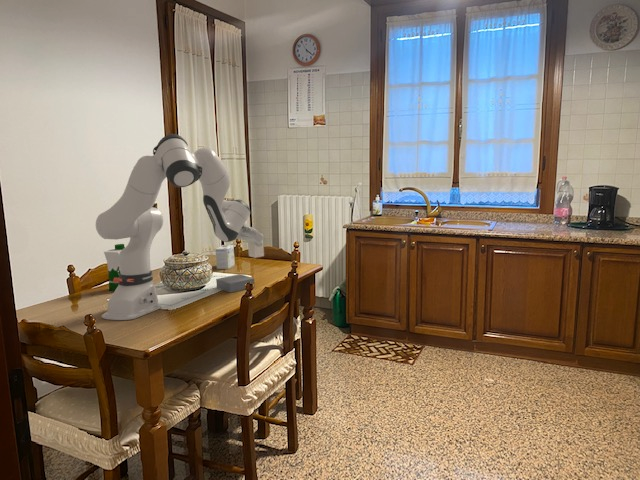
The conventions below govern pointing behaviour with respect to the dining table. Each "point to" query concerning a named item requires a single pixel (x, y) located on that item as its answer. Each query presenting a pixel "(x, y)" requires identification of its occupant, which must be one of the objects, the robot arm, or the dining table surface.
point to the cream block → (255, 249)
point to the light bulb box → (225, 256)
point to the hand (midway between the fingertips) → (256, 244)
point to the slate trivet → (233, 283)
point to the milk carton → (113, 265)
